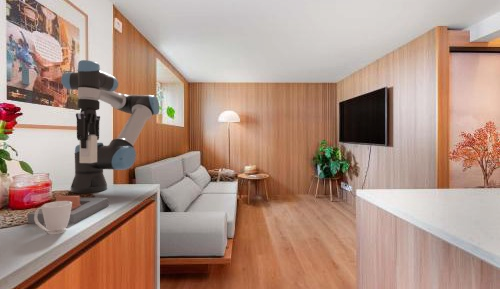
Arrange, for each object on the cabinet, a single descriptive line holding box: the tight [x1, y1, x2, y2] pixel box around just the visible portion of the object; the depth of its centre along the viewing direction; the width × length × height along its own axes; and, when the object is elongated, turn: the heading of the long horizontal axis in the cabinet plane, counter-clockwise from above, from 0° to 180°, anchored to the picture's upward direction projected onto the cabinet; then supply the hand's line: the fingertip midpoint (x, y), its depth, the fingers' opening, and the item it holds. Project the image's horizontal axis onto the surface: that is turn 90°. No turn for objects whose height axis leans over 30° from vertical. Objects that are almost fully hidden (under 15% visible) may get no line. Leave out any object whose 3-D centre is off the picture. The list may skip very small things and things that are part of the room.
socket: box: [26, 197, 109, 225], centre depth 86 cm, size 20×14×3 cm
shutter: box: [55, 195, 81, 210], centre depth 81 cm, size 7×7×4 cm
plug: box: [79, 134, 98, 163], centre depth 102 cm, size 4×4×12 cm
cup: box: [34, 200, 72, 236], centre depth 70 cm, size 7×10×8 cm
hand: (88, 155), depth 102 cm, fingers closed on plug, 4 cm apart
